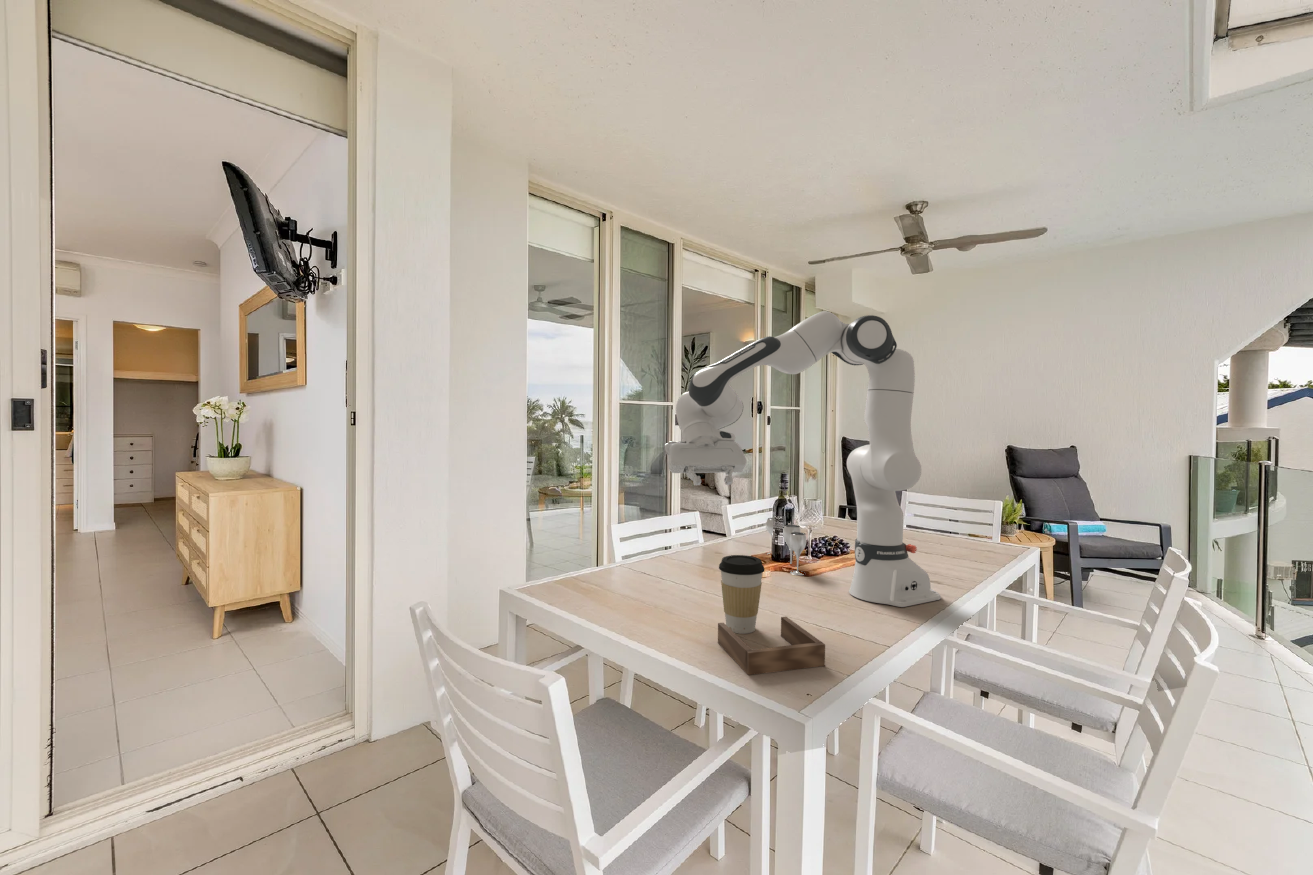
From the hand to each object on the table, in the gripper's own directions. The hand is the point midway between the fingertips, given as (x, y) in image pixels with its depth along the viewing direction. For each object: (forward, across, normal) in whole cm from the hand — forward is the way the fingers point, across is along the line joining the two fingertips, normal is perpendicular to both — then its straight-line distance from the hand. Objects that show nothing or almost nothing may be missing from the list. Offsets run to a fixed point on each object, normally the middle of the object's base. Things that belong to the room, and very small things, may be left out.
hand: (713, 483), depth 136 cm
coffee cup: (+33, 0, +9) cm, 34 cm away
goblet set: (0, +36, +42) cm, 55 cm away
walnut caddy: (+42, 0, -1) cm, 42 cm away
